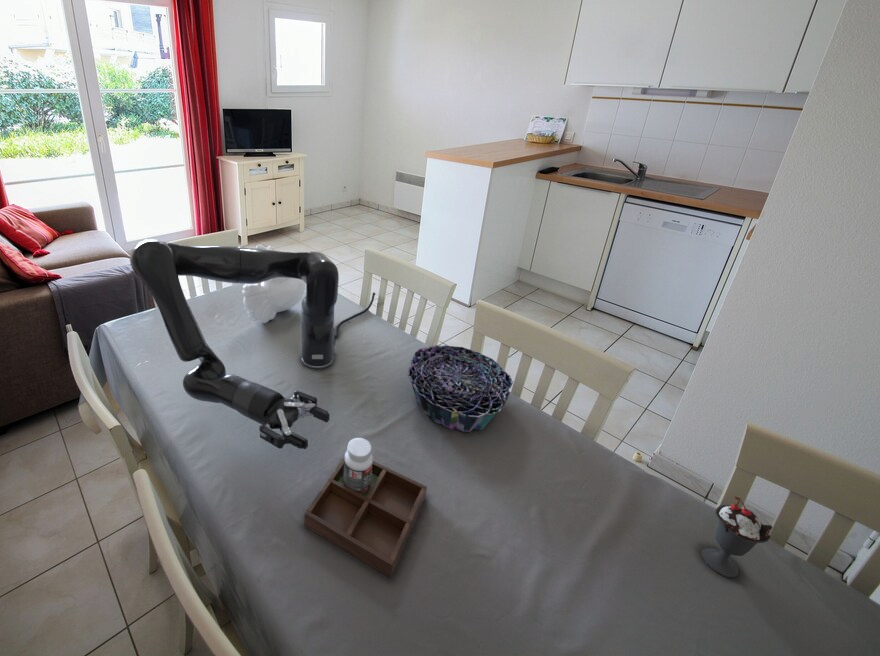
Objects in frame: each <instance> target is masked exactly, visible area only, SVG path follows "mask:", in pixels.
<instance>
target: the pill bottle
mask: <svg viewBox="0 0 880 656" xmlns="http://www.w3.org/2000/svg"><path fill="white" fill-rule="evenodd" d="M344 456H345V457H343V458H344V476H343V483H344V485H345V486H347V487H348V488H350V489H352V490H354V491H356V492H358V493H360V494H364V493H366V492H367V491H368V490H369V488H370V486H371V479H372V466H373V461H374V457H373V454H372V445H371V442H370V441H368V439H365V438H363V437H355V438H352V439H350V440H349V442H348V443H347V450H346V451H345V453H344Z"/></svg>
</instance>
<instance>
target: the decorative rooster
mask: <svg viewBox="0 0 880 656" xmlns="http://www.w3.org/2000/svg"><path fill="white" fill-rule="evenodd" d="M255 249H264V250H273V251H275V250H274V248H273V247H272V245H268V246H267V247H265V246H264V245H263V244H261V243H260V244H257V245H256V246H255ZM241 289H242V290H241V294H242V296H243V301H242V302H243V303H242V305H243V307H244V309H245V311H246V313H247V316H248V318H249V319H250V320H252V321H253V322H256V323H260V324H266V323H268V322H269V321H271V320H273V319H274V318H275V317H276V315H277V313H280V312H284V311H287V310H290V309H292V308H294V307H296V305H297V304H299V303H300V302H301V301H302V300H303V298H304V297H303V296H304V293H305V291H306V283H305V282H304V281H303V280H301V279H296V278H287V277H278V278H273V279H270V280H267V281H264V282H260V283H256V284H243V286H242V288H241Z"/></svg>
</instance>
